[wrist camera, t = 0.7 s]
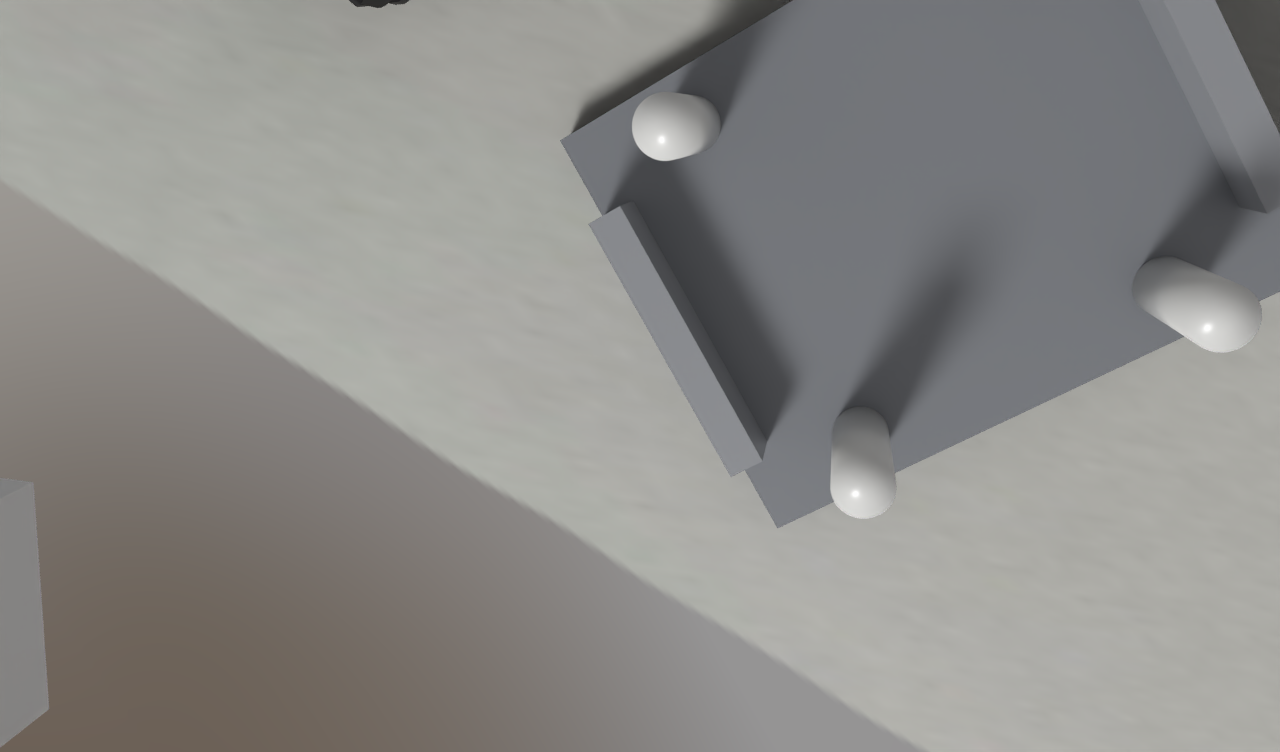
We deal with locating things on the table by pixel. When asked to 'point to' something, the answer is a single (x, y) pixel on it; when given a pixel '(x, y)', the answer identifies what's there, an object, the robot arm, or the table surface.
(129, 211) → the table surface
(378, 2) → the end cap
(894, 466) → the tray
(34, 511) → the robot arm
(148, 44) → the table surface
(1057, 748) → the table surface
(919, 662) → the table surface
